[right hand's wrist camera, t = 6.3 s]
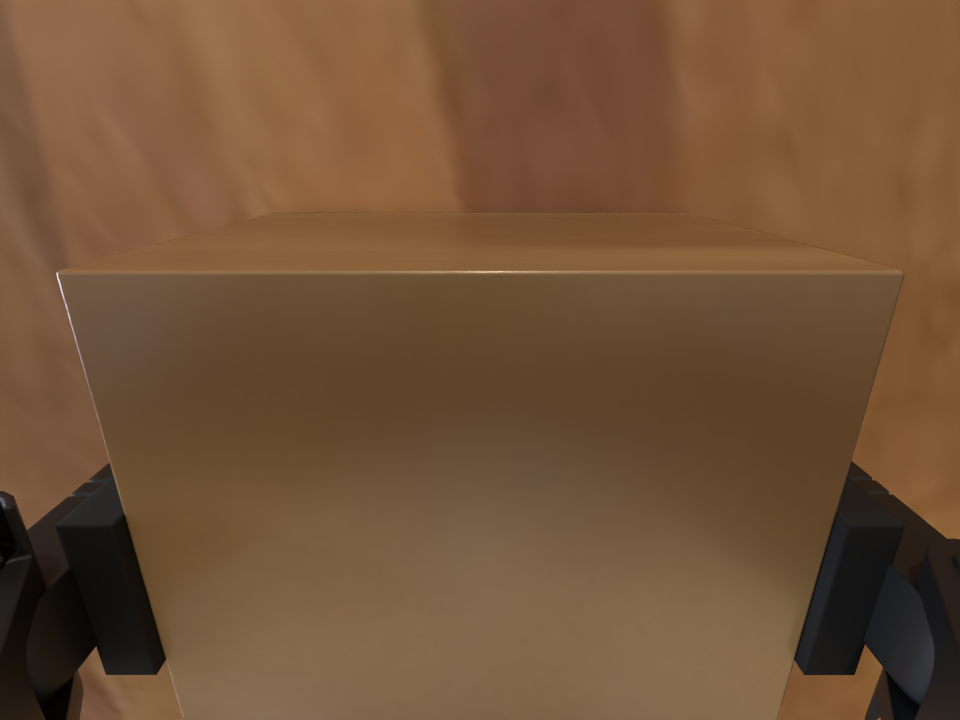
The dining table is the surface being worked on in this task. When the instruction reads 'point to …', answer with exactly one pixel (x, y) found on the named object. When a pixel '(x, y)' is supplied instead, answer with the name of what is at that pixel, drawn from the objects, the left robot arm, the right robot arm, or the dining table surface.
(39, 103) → the dining table surface
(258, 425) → the thick board
